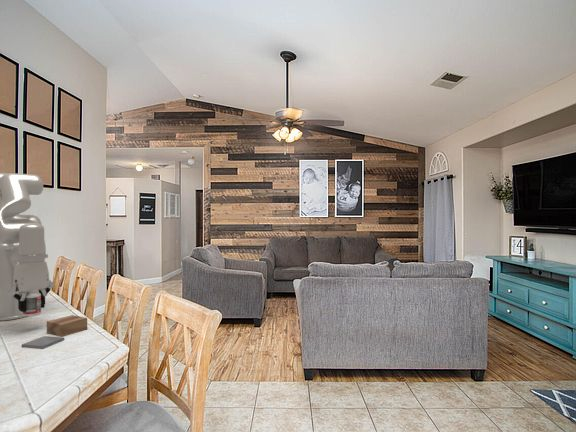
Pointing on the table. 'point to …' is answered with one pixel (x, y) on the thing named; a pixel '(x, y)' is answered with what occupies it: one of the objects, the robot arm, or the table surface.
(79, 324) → the walnut block
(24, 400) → the table surface
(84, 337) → the table surface
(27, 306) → the pill bottle
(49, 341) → the slate coaster
